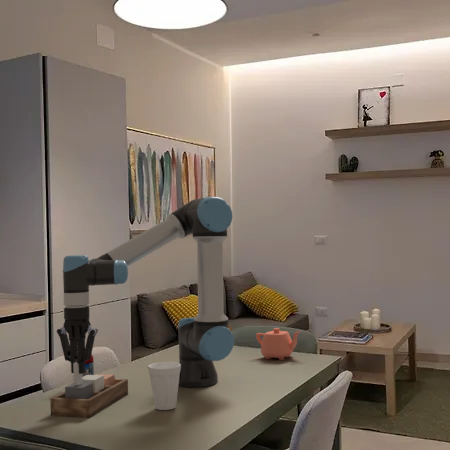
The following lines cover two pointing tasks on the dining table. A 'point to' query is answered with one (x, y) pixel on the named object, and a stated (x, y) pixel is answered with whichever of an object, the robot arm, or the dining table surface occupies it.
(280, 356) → the teapot
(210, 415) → the dining table surface
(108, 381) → the salmon pink square block
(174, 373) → the cup
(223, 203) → the robot arm
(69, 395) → the grey square block
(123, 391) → the wooden tray
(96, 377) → the white square block
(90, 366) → the beverage can
